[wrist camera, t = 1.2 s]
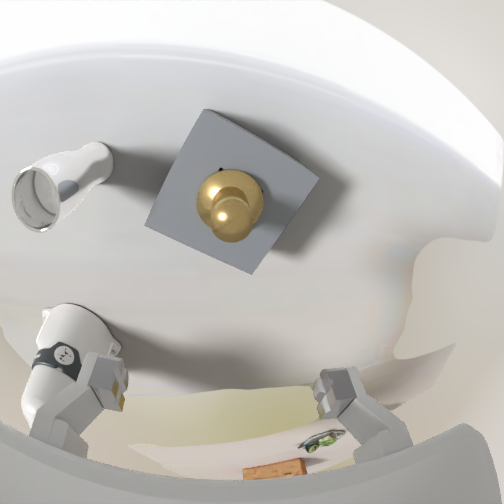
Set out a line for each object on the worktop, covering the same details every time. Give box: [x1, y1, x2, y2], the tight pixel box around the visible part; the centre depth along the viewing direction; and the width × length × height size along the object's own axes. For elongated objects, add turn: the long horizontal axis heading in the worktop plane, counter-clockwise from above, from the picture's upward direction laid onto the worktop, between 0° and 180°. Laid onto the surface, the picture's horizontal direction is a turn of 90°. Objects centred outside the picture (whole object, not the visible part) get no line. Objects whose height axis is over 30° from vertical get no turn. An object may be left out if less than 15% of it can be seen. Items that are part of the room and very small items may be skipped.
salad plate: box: [298, 430, 345, 453], centre depth 87 cm, size 19×18×5 cm
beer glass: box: [12, 142, 113, 232], centre depth 25 cm, size 7×7×15 cm
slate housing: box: [144, 109, 319, 275], centre depth 32 cm, size 14×14×8 cm
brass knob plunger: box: [197, 167, 264, 243], centre depth 29 cm, size 7×7×14 cm
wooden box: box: [243, 458, 307, 480], centre depth 101 cm, size 30×16×14 cm, turn 110°
